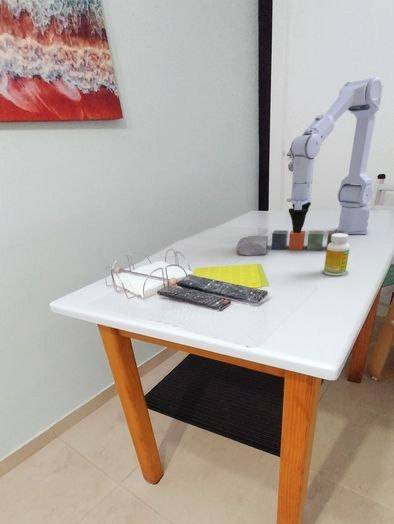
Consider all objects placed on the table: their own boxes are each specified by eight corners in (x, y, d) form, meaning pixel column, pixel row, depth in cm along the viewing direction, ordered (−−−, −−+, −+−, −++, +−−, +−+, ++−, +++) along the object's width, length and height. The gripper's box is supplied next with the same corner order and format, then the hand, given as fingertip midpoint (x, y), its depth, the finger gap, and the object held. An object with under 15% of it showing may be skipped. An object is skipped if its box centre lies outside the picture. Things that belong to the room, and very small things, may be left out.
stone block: (237, 261, 109) (268, 254, 105) (234, 246, 106) (265, 239, 103) (241, 251, 119) (269, 245, 115) (238, 237, 116) (267, 231, 113)
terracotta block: (303, 246, 111) (305, 230, 109) (302, 250, 108) (304, 234, 105) (290, 245, 113) (291, 230, 110) (288, 249, 109) (289, 233, 107)
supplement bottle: (342, 277, 86) (349, 238, 81) (321, 274, 89) (326, 236, 83) (347, 270, 90) (353, 233, 85) (326, 268, 92) (331, 231, 87)
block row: (341, 246, 108) (343, 230, 105) (341, 250, 104) (343, 234, 101) (273, 245, 115) (274, 230, 112) (271, 249, 111) (272, 233, 108)
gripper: (291, 180, 107) (288, 224, 114) (285, 186, 96) (282, 235, 103) (314, 179, 105) (310, 224, 112) (311, 185, 93) (306, 235, 101)
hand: (298, 229), depth 107 cm, fingers open, 7 cm apart
